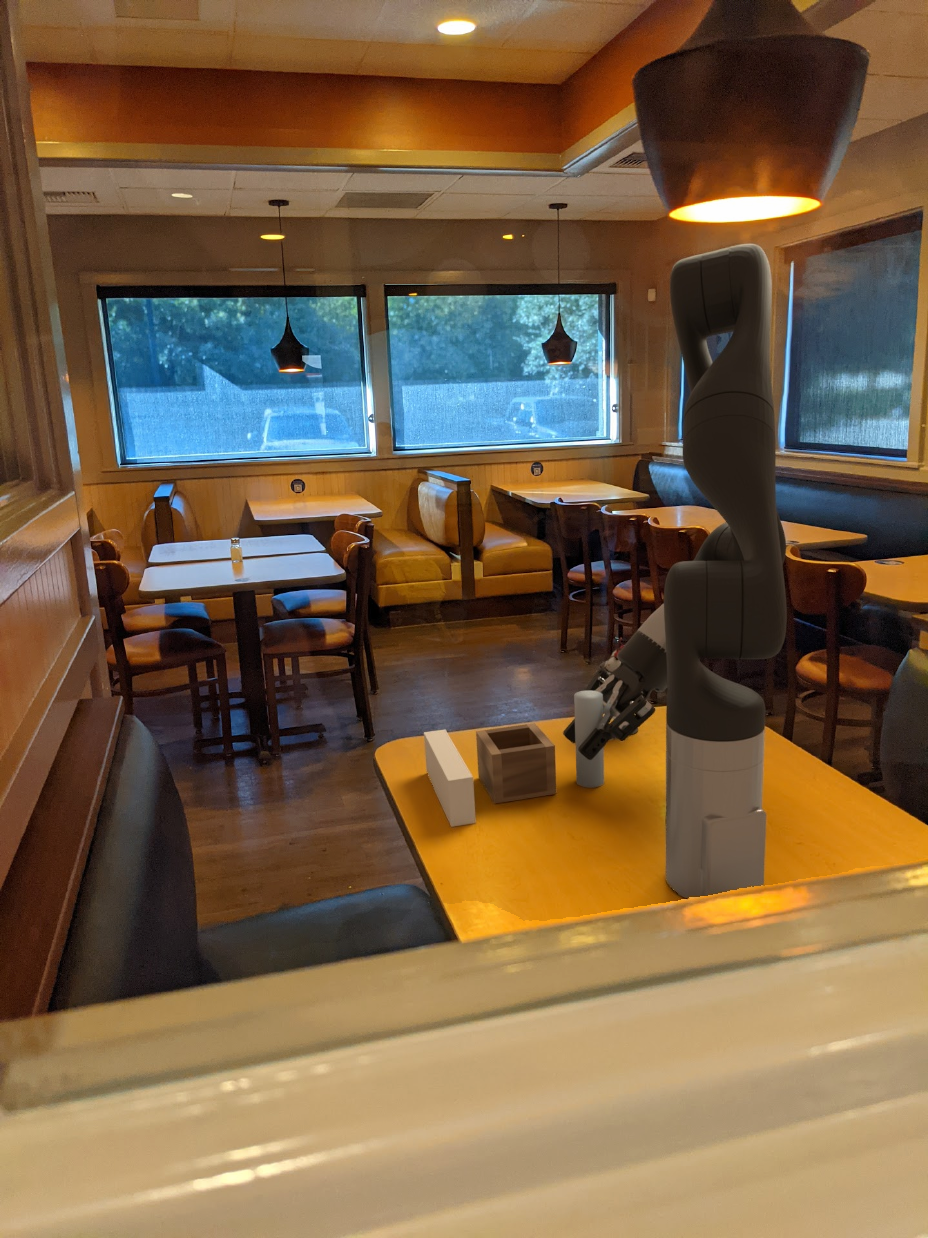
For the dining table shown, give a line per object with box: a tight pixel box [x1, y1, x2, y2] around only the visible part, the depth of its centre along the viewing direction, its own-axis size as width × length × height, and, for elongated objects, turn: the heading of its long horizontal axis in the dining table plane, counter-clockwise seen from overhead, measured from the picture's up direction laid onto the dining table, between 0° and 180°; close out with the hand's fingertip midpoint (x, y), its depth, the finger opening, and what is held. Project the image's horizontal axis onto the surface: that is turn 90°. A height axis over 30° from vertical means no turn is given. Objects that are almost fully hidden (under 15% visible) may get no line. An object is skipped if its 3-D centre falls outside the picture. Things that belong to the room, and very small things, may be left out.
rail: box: [423, 729, 477, 828], centre depth 106 cm, size 16×3×6 cm, turn 13°
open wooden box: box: [475, 722, 557, 804], centre depth 108 cm, size 8×8×7 cm
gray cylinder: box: [573, 690, 605, 789], centre depth 108 cm, size 4×4×12 cm
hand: (576, 746), depth 107 cm, fingers open, 5 cm apart
